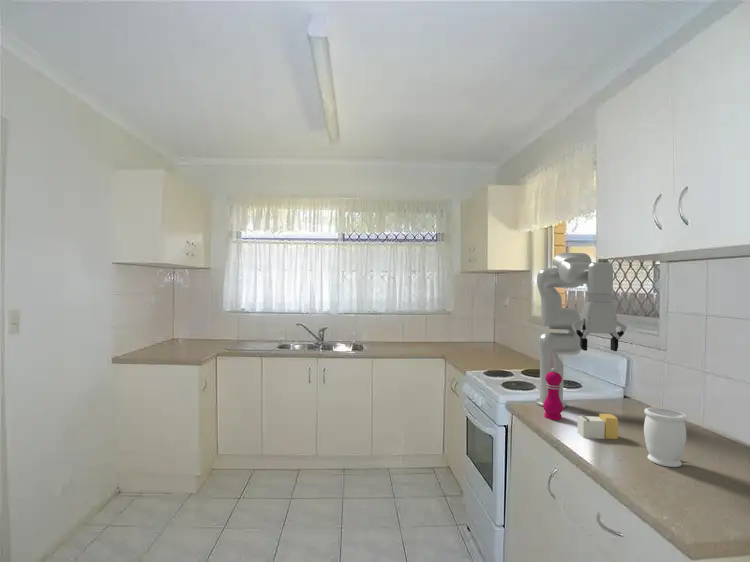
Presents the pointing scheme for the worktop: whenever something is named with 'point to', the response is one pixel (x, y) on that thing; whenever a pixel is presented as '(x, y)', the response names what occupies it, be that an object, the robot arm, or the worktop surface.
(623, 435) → the worktop surface
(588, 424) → the ticket
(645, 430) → the jar
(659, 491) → the worktop surface
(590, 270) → the robot arm
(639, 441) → the worktop surface
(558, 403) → the pepper mill
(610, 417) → the stub
